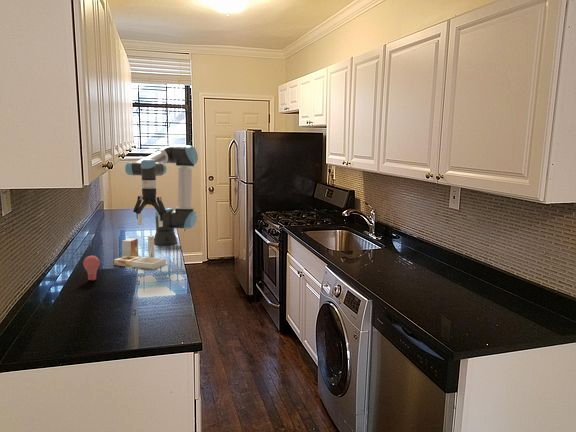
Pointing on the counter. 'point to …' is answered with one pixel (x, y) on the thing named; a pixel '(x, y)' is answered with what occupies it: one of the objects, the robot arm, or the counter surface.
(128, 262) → the tan square ring
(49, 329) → the counter surface
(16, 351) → the counter surface
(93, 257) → the light bulb
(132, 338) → the counter surface
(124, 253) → the small box
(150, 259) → the tray
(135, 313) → the counter surface
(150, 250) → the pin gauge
